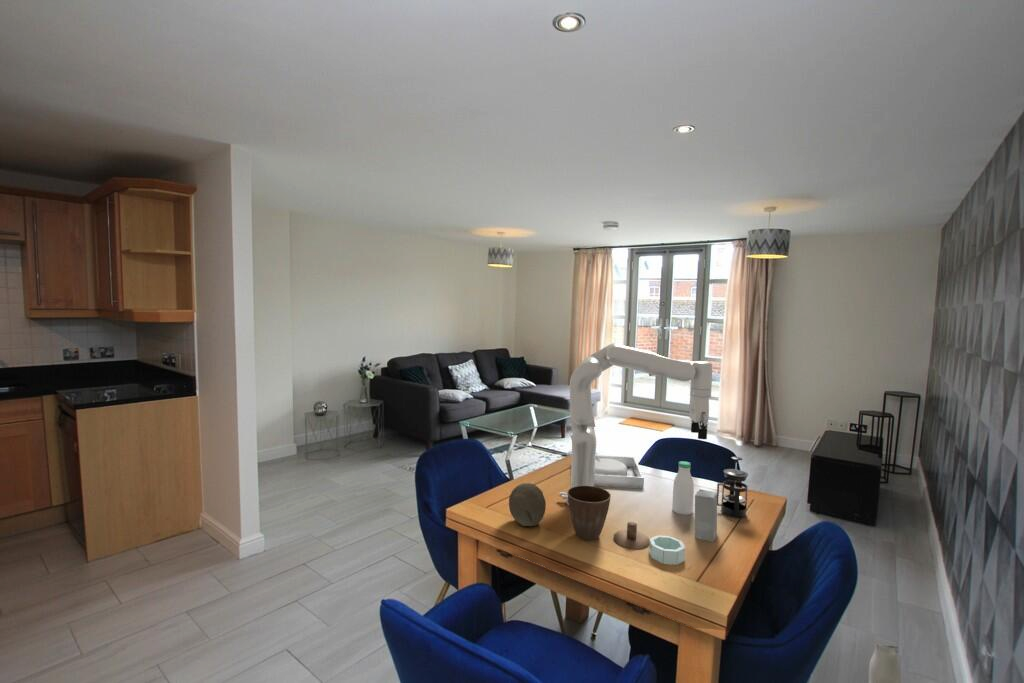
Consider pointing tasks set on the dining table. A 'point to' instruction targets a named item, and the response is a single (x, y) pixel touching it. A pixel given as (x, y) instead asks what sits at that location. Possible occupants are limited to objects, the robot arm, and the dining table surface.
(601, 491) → the plant pot
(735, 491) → the french press
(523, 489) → the grey stone egg
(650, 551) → the bowl
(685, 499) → the milk bottle
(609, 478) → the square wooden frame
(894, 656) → the glass bottle
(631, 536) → the lid
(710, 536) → the skincare box
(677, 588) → the dining table surface
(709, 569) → the dining table surface
